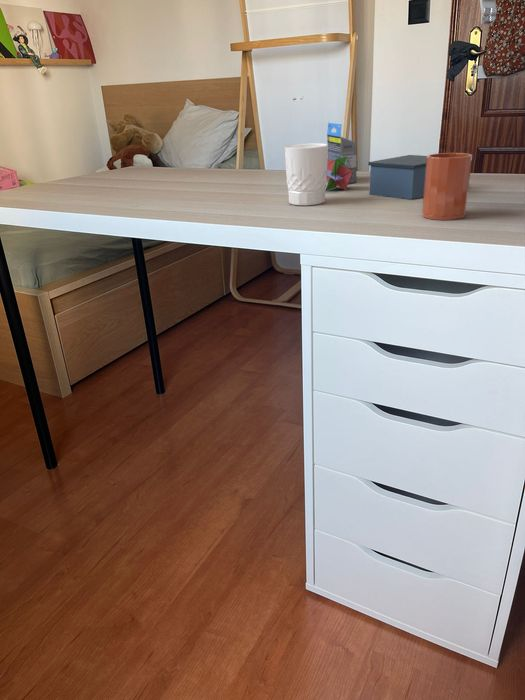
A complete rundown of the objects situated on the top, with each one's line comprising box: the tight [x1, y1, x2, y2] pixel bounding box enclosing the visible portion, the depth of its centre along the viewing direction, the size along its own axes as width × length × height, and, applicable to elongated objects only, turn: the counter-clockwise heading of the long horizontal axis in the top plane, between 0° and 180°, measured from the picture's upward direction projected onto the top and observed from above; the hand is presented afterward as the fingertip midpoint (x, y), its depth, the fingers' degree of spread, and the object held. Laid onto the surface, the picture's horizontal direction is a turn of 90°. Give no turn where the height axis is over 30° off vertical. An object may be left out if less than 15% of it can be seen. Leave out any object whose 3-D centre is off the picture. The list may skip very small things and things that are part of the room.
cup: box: [421, 152, 473, 221], centre depth 81 cm, size 6×6×9 cm
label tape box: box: [326, 121, 358, 184], centre depth 117 cm, size 9×4×12 cm, turn 13°
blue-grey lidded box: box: [367, 154, 427, 200], centre depth 102 cm, size 13×11×6 cm
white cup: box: [283, 142, 328, 207], centre depth 97 cm, size 8×8×10 cm
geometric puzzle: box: [325, 156, 353, 192], centre depth 108 cm, size 7×7×8 cm
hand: (497, 10), depth 73 cm, fingers open, 8 cm apart
